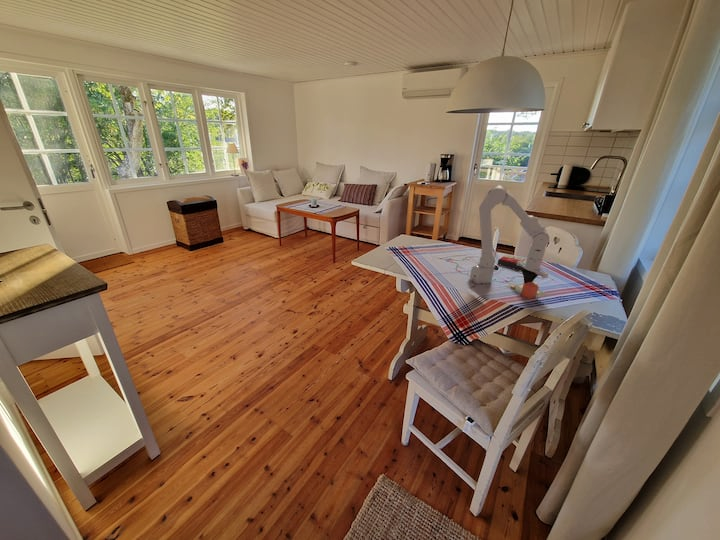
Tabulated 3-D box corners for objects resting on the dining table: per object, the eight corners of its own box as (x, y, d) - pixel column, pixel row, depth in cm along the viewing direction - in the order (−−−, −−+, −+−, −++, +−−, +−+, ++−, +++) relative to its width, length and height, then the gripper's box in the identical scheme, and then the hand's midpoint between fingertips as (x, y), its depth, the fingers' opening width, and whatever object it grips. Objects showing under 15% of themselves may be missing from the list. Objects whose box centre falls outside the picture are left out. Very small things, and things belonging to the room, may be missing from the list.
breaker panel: (526, 302, 122) (527, 297, 121) (505, 289, 132) (506, 284, 131) (548, 298, 125) (549, 293, 124) (525, 285, 135) (527, 281, 135)
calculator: (505, 253, 165) (535, 259, 155) (504, 260, 166) (533, 267, 156) (498, 258, 158) (528, 265, 148) (496, 265, 159) (526, 273, 149)
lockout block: (528, 298, 122) (531, 287, 120) (520, 293, 125) (523, 283, 123) (535, 297, 123) (538, 286, 121) (528, 292, 126) (531, 282, 124)
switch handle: (529, 291, 127) (530, 284, 126) (525, 289, 129) (527, 282, 127) (536, 290, 128) (538, 283, 127) (532, 288, 130) (534, 281, 129)
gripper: (557, 263, 119) (547, 292, 125) (528, 251, 132) (521, 277, 138) (544, 264, 117) (535, 294, 123) (516, 252, 130) (509, 279, 136)
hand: (526, 285), depth 130 cm, fingers closed
